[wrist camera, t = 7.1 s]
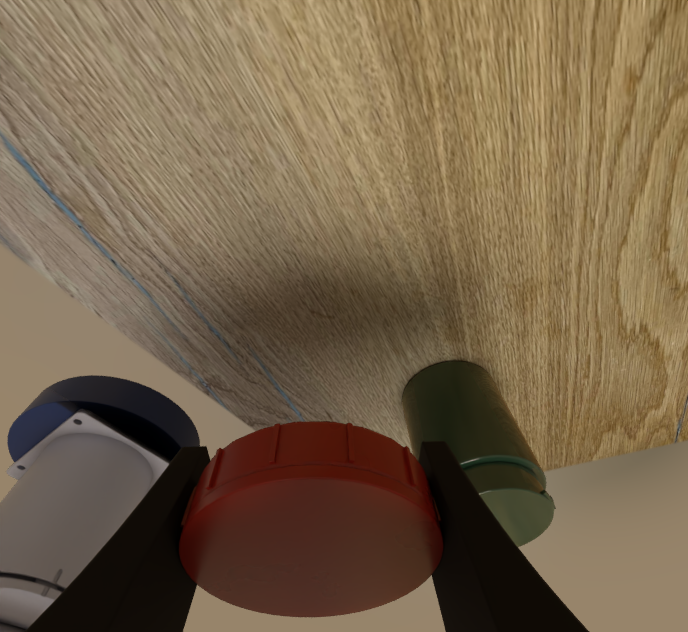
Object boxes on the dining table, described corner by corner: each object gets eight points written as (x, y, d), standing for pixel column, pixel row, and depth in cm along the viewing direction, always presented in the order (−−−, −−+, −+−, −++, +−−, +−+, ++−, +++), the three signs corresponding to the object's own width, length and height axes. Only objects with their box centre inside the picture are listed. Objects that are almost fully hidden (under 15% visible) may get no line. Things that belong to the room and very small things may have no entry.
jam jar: (433, 441, 23) (470, 570, 17) (383, 393, 21) (404, 522, 15) (511, 399, 21) (582, 526, 15) (464, 343, 19) (526, 464, 13)
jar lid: (447, 418, 8) (467, 475, 7) (414, 558, 11) (424, 614, 10) (175, 420, 8) (148, 480, 7) (216, 562, 11) (202, 620, 10)
